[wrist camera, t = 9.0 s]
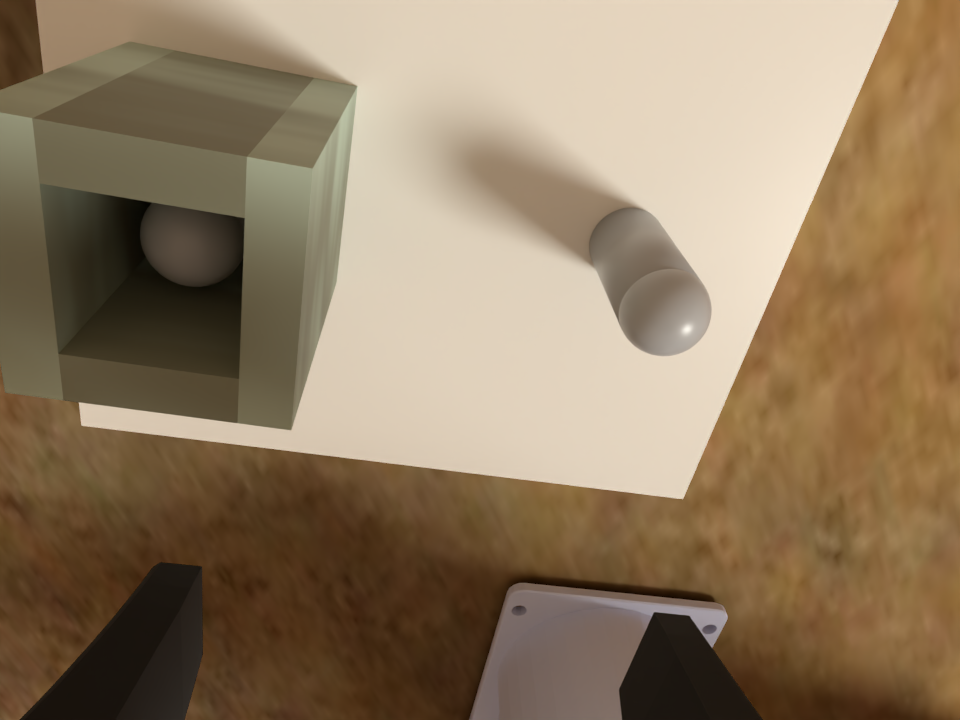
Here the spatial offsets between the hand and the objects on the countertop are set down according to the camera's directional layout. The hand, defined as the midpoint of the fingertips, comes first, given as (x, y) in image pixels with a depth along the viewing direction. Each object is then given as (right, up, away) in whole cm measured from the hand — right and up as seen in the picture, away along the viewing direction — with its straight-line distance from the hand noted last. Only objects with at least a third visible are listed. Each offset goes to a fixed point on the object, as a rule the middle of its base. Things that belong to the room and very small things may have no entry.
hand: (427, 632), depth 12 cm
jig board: (0, +9, +6) cm, 11 cm away
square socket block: (-4, +9, +5) cm, 11 cm away
